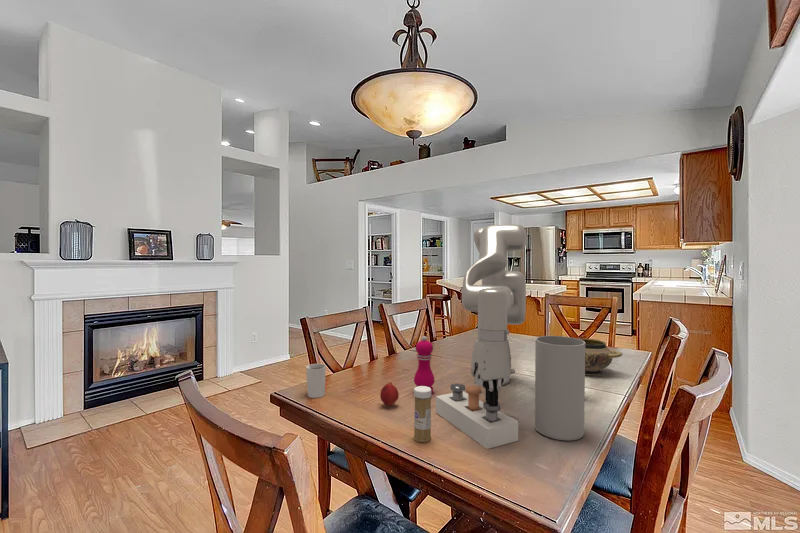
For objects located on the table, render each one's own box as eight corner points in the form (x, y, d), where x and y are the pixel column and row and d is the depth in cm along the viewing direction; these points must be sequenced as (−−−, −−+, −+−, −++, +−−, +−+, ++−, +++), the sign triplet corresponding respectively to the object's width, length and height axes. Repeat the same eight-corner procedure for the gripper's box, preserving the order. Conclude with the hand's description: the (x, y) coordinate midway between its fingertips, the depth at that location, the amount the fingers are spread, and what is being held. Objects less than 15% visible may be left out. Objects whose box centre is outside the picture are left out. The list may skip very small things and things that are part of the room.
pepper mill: (433, 397, 131) (433, 338, 131) (412, 395, 133) (412, 337, 132) (435, 389, 139) (435, 334, 138) (415, 388, 140) (415, 333, 139)
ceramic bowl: (623, 380, 158) (624, 343, 160) (618, 380, 143) (620, 339, 146) (560, 370, 172) (562, 336, 174) (550, 369, 158) (552, 332, 160)
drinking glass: (316, 390, 138) (316, 362, 138) (330, 394, 134) (329, 365, 134) (302, 395, 133) (302, 366, 132) (315, 399, 129) (315, 370, 129)
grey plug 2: (492, 429, 105) (493, 400, 105) (503, 435, 101) (503, 405, 101) (479, 432, 103) (479, 402, 103) (490, 439, 99) (490, 408, 99)
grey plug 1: (459, 408, 120) (459, 382, 119) (468, 413, 116) (468, 387, 115) (447, 410, 118) (447, 384, 118) (455, 416, 114) (455, 389, 114)
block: (463, 406, 123) (463, 391, 123) (518, 440, 100) (518, 421, 100) (435, 412, 119) (435, 396, 119) (487, 448, 96) (487, 429, 96)
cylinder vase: (559, 445, 98) (560, 347, 97) (525, 425, 109) (525, 338, 108) (594, 436, 103) (596, 343, 102) (558, 418, 114) (559, 334, 113)
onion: (385, 411, 120) (385, 385, 119) (377, 404, 125) (377, 380, 124) (401, 407, 122) (401, 382, 122) (393, 401, 127) (393, 377, 127)
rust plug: (475, 411, 112) (475, 384, 112) (484, 417, 108) (484, 389, 108) (462, 414, 110) (462, 386, 110) (471, 420, 106) (471, 391, 106)
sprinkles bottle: (410, 439, 101) (410, 388, 101) (420, 433, 105) (420, 384, 104) (424, 444, 98) (424, 392, 98) (434, 438, 102) (434, 387, 101)
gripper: (505, 330, 108) (504, 395, 109) (460, 335, 102) (460, 404, 102) (524, 335, 101) (523, 404, 102) (477, 340, 95) (477, 414, 95)
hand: (491, 404), depth 102 cm, fingers closed
